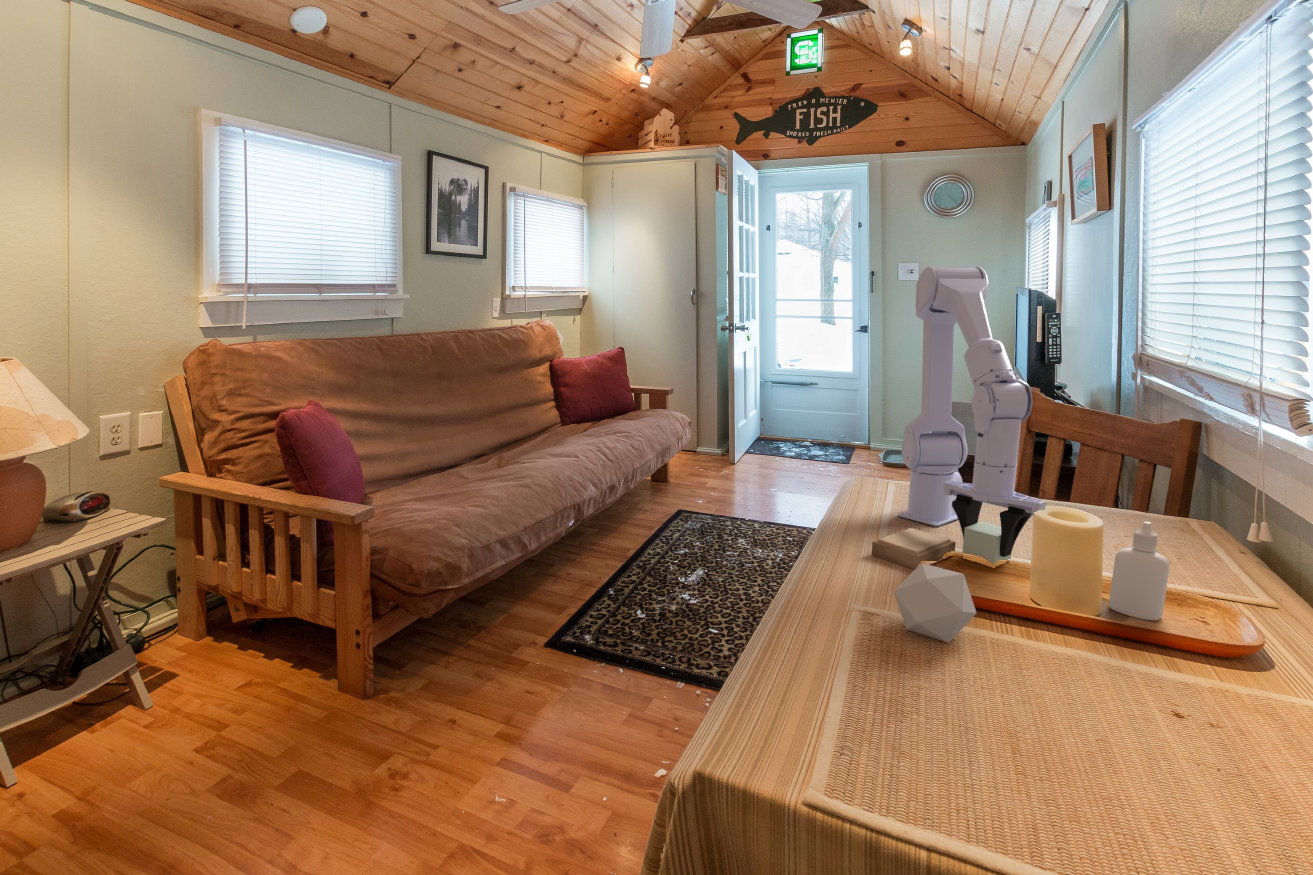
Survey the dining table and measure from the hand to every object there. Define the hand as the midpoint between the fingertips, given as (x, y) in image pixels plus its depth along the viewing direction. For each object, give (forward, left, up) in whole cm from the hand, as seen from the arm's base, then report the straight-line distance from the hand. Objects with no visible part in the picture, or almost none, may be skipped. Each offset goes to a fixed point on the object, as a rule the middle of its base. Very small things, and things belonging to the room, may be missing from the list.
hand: (987, 549), depth 109 cm
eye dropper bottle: (+3, +21, -2) cm, 21 cm away
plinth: (+7, -8, -2) cm, 11 cm away
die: (+28, +8, -2) cm, 29 cm away
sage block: (0, 0, -2) cm, 2 cm away
